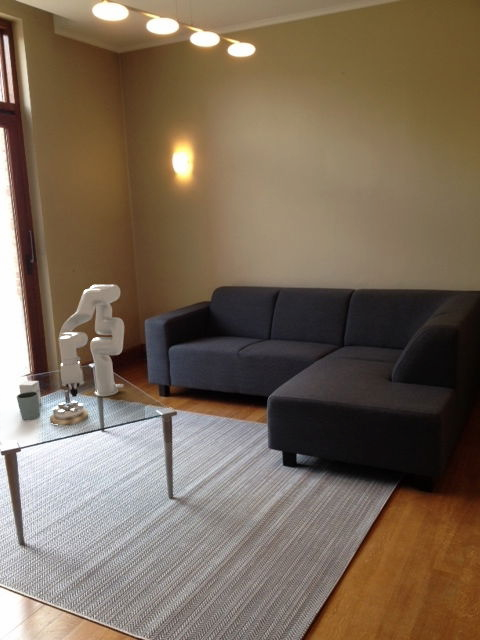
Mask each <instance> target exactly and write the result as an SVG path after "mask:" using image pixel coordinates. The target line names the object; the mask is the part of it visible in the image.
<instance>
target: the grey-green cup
mask: <svg viewBox="0 0 480 640" xmlns="http://www.w3.org/2000/svg"><path fill="white" fill-rule="evenodd" d="M16 400H17V403H18V404H17V405H18V409H19V413H20V417H21V420H22V421H25V420H29V421H33V420H36V419H39V418H40V417H41V415H40V414H41V412H40V404H39V400H38V393H37V392H25V393H21V394H20V393H19V394H18V395H17V396H16Z"/></svg>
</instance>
